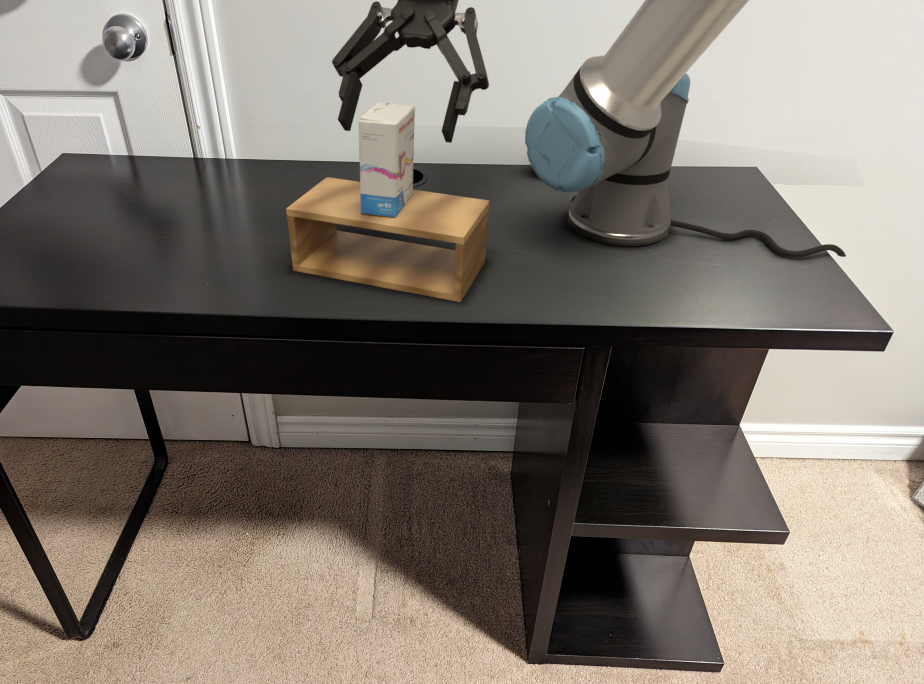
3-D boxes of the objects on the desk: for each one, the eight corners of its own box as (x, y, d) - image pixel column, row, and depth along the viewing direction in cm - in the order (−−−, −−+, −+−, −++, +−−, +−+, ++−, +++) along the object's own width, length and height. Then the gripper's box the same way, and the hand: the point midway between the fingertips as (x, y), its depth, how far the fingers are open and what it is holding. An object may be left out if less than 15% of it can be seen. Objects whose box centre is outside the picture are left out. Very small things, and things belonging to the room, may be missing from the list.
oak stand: (485, 261, 96) (490, 200, 90) (460, 302, 87) (463, 237, 81) (331, 235, 102) (326, 176, 97) (293, 270, 93) (285, 208, 88)
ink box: (397, 219, 85) (396, 122, 78) (359, 214, 86) (355, 118, 79) (414, 194, 92) (415, 102, 85) (379, 190, 93) (377, 99, 86)
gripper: (533, 2, 87) (495, 157, 85) (353, -8, 93) (314, 135, 91) (528, -43, 80) (488, 125, 77) (334, -50, 86) (291, 104, 84)
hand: (394, 131), depth 84 cm, fingers open, 13 cm apart
